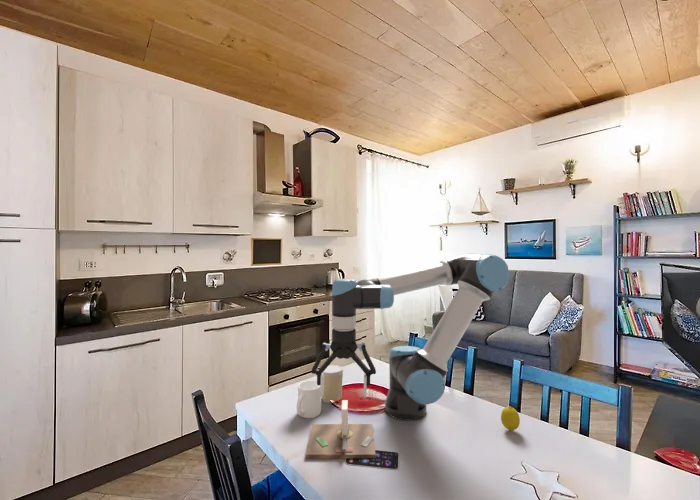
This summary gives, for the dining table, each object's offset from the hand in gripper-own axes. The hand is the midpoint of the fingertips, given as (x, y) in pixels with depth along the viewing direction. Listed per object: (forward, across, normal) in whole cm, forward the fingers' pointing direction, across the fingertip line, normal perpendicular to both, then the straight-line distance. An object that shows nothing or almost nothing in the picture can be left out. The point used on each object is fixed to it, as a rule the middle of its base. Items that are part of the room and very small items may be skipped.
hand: (343, 395), depth 104 cm
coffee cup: (+14, +6, -27) cm, 31 cm away
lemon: (+13, -54, -4) cm, 56 cm away
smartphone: (+14, -9, +10) cm, 19 cm away
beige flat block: (+12, -1, +3) cm, 12 cm away
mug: (+14, +14, -14) cm, 24 cm away
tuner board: (+14, 0, +2) cm, 14 cm away
